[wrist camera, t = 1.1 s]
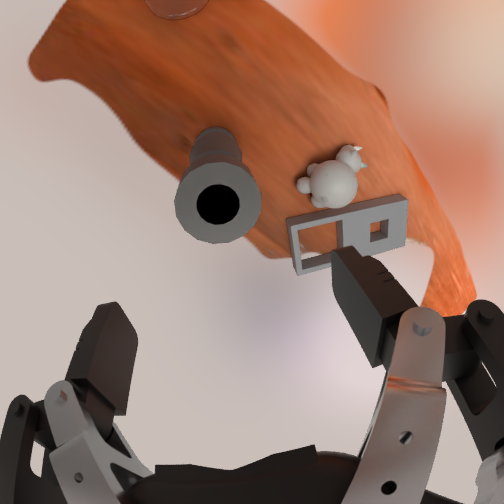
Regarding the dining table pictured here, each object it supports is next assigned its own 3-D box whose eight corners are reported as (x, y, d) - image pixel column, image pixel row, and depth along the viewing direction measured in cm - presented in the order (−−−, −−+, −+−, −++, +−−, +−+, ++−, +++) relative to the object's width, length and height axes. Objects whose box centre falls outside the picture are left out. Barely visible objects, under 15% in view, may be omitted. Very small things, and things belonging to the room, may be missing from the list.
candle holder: (239, 129, 38) (274, 165, 17) (232, 168, 41) (256, 250, 20) (197, 124, 37) (174, 153, 16) (192, 164, 40) (168, 243, 18)
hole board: (286, 218, 47) (290, 226, 44) (399, 193, 47) (408, 199, 44) (293, 266, 52) (297, 275, 49) (397, 238, 52) (404, 245, 49)
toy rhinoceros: (351, 164, 46) (387, 164, 38) (314, 214, 45) (349, 222, 37) (328, 133, 42) (364, 128, 35) (287, 184, 41) (321, 186, 34)
